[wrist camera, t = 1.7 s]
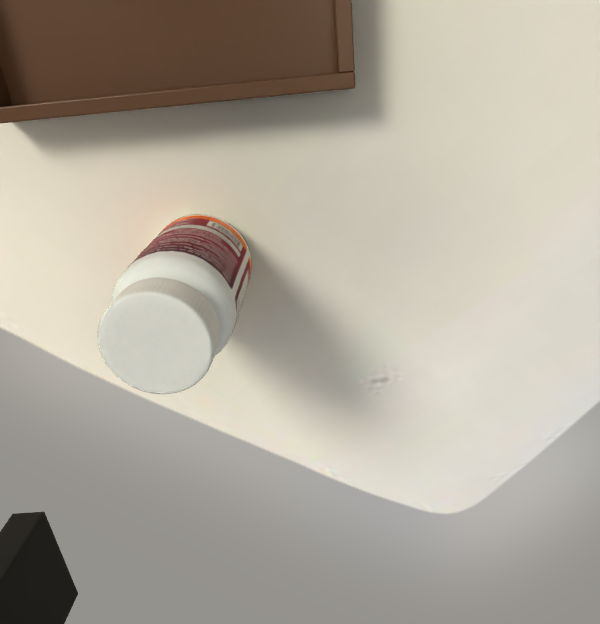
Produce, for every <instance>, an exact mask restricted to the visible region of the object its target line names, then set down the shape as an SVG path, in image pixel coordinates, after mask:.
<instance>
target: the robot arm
mask: <svg viewBox="0 0 600 624" xmlns="http://www.w3.org/2000/svg"><path fill="white" fill-rule="evenodd" d="M77 595H78V592H77V590H76V587H75V585H74V583H73V580H72V578H71V576H70V573H69V571H68V568H67V566H66V564H65V561H64V558H63V556H62V554H61V551H60V549H59V546H58V544H57V542H56V539H55V537H54V535H53V532H52V529H51V527H50V525H49V522H48V520H47V517H46V515H45V513H44V512H35V513H19V514H12V516H11V517H10V519H9V520H8V522H7V523H6V524H5V526H4V527H3V529H2V530H1V532H0V624H64V623H65V621H66V618H67V616H68V614H69V612H70V610H71V608H72V606H73V603H74V601H75V599H76V597H77Z"/></svg>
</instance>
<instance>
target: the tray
mask: <svg viewBox="0 0 600 624" xmlns="http://www.w3.org/2000/svg"><path fill="white" fill-rule="evenodd" d="M353 71H354V49H353V26H352V4H351V0H0V123H8V122H18V121H28V120H38V119H48V118H59V117H69V116H79V115H89V114H99V113H109V112H120V111H130V110H140V109H150V108H160V107H170V106H181V105H191V104H201V103H211V102H221V101H231V100H242V99H252V98H262V97H272V96H282V95H292V94H303V93H313V92H323V91H333V90H343V89H353V88H355V73H354V72H353Z"/></svg>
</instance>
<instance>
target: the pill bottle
mask: <svg viewBox="0 0 600 624" xmlns="http://www.w3.org/2000/svg"><path fill="white" fill-rule="evenodd" d="M250 274H251V256H250V252H249V249H248V246H247V244H246V242H245V240H244V239H243V237H242V235H241V234H240V233H239V232H238V231H237V230H236V229H235V228H234V227H232V226H231V225H230V224H228V223H227V222H225V221H223V220H221V219H219V218H216V217H213V216H208V215H201V214H195V215H188V216H184V217H181V218H179V219H177V220H175V221H173V222H172V223H170V224H169V225H168V226H166V227H165V228H164V229H163V230H162V232H160V233H159V235H158V236H157V237H156V238H155V239H154V240H153V241H152V242H151V243H150V244H149V245H148V247H147V248H146V249H144V250H143V251H142V252H141V253H140V255H139V256H138V257H137V258H136V259H135V261H134V262H132V263H131V264H130V265H129V266H128V268H127V269H126V270H125V271H124V273H123V274H122V275H121V276H120V278H119V279H118V281H117V283H116V285H115V288H114V290H113V294H112V299H111V305H110V306H109V307H108V309H107V310H106V311H105V313H104V315H103V316H102V318H101V321H100V324H99V328H98V345H99V349H100V352H101V355H102V357H103V359H104V361H105V363H106V364H107V366H108V367H109V368H110V370H111V371H112V372H113V373H114V374H115V375H116V376H117V377H118V378H119V379H121V380H122V381H123V382H125V383H127V384H128V385H130V386H132V387H134V388H136V389H139V390H141V391H145V392H149V393H155V394H171V393H177V392H181V391H183V390H186V389H188V388H190V387H192V386H193V385H195V384H196V383H197V382H199V381H200V380H201V379H202V378H203V377H204V375H205V374H206V373H207V371H208V369H209V367H210V366H211V363H212V361H213V358H214V356H215V355H216V354H218V353H219V352H220V351H221V350H222V349H223V348H224V346H225V345H226V344H227V342H228V340H229V338H230V336H231V334H232V332H233V329H234V327H235V324H236V320H237V317H238V314H239V311H240V308H241V305H242V302H243V298H244V295H245V292H246V289H247V286H248V282H249V279H250Z"/></svg>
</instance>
